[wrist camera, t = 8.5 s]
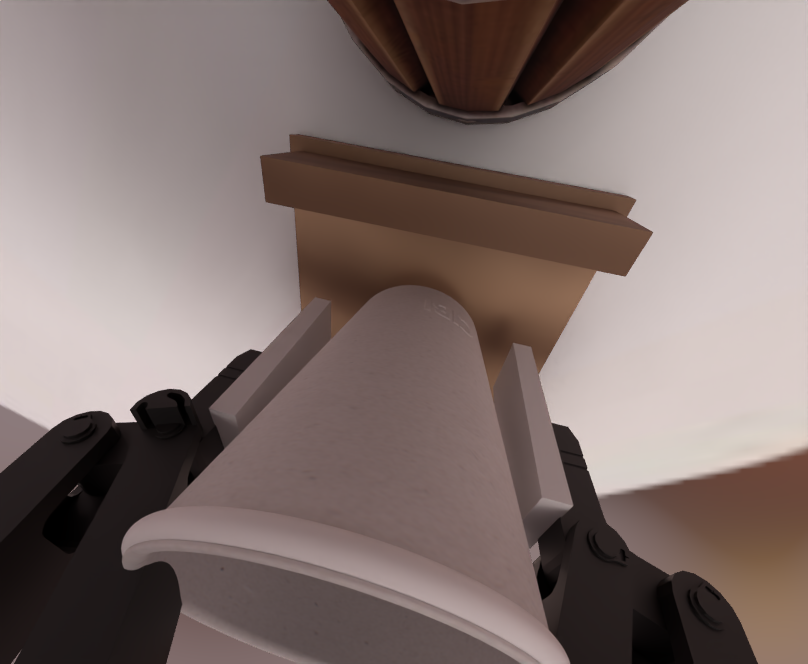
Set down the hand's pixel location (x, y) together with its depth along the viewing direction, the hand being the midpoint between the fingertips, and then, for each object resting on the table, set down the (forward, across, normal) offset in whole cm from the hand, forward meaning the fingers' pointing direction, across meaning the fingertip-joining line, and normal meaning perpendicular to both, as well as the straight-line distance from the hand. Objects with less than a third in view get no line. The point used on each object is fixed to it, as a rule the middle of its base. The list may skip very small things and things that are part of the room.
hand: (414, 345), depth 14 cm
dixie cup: (0, 0, 0) cm, 0 cm away
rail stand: (+4, 0, 0) cm, 4 cm away
